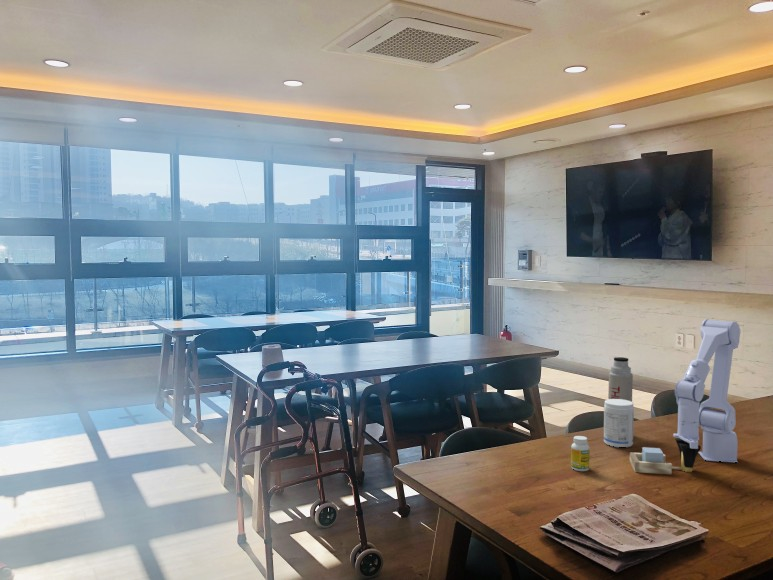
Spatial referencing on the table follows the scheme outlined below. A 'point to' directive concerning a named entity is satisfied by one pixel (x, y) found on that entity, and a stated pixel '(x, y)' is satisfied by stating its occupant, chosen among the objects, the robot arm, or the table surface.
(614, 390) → the thermos bottle
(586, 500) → the table surface
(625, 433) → the supplement tub
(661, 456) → the corded block
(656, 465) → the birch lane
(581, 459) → the supplement bottle
